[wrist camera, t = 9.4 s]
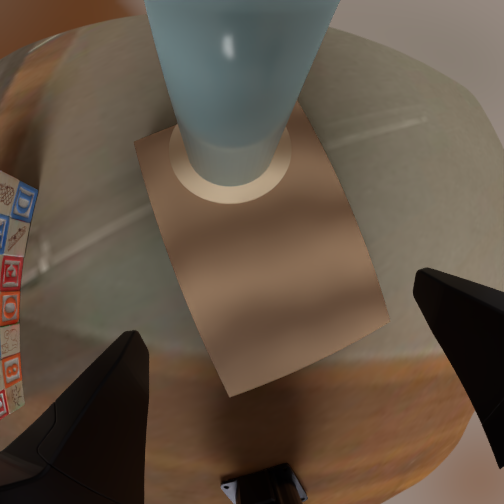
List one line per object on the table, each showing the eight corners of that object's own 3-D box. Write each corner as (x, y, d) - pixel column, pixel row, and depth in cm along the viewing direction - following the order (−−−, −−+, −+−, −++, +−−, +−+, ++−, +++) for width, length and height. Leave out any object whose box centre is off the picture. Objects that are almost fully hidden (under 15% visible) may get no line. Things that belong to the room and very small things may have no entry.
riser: (370, 316, 20) (392, 322, 17) (229, 380, 19) (229, 399, 15) (280, 103, 21) (287, 80, 17) (141, 148, 19) (129, 129, 16)
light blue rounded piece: (291, 154, 17) (378, 1, 5) (221, 204, 16) (214, 42, 4) (238, 98, 17) (257, -61, 5) (170, 141, 16) (113, -21, 4)
